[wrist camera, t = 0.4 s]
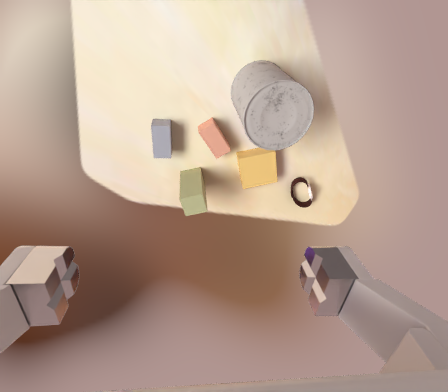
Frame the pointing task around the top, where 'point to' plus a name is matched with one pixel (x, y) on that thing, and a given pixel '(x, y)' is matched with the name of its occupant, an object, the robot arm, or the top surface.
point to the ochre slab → (257, 167)
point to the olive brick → (192, 192)
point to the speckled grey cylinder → (271, 105)
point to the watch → (308, 203)
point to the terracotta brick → (214, 138)
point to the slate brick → (161, 138)
